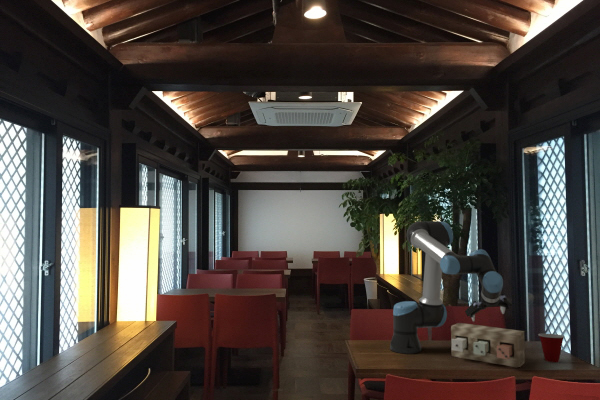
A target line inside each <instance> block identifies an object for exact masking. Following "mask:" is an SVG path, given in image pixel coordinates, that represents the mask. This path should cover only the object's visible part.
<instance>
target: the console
mask: <svg viewBox="0 0 600 400" xmlns="http://www.w3.org/2000/svg"><path fill="white" fill-rule="evenodd" d="M450 326H451V327H450V336H451V337H450V338H451V339H450V341H451V342H450V343H451V344H450V345H451V348H450V349H451V354H450V355H451V357H453V358H454V357H456V358H460V359H466V360H473V361H477V362H484V363H488V364H496V365H500V366H507V367H512V368H517V367H520V368H521V367H522V366H523V365H524V364H525V363H526V358H525V357H526V353H525V352H526V351H525V349H526V348H525V347H526V346H525V330H520V329H519V330H518V329H517V330H516V329H509V328H501V327H496V326H495V327H494V326H488V325H479V324H471V323H462V322H457V323H455V324H452V325H450ZM458 337H461V338H467V347H466V348H465V349H463V352H460V351H454V350H452V339H456V338H458ZM480 340H481V341H488V342H489V351H488V352H486V355H485V356H484V355H478V354H474V347H473V342H478V341H480ZM502 344H508V345H512V350H513V354H512V355H511V356H510V359H503V358H497V346H500V345H502Z"/></svg>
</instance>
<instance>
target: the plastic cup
mask: <svg viewBox="0 0 600 400" xmlns="http://www.w3.org/2000/svg"><path fill="white" fill-rule="evenodd" d="M537 335H538V337H539V339H540V343H541V349H542V353H543V357H544V360H545V361H546V362H548V363H559V362H560V358H561V353H562V348H563V346H562V345H563V341H564V338H565V335H562V334H556V333H538V334H537Z"/></svg>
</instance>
